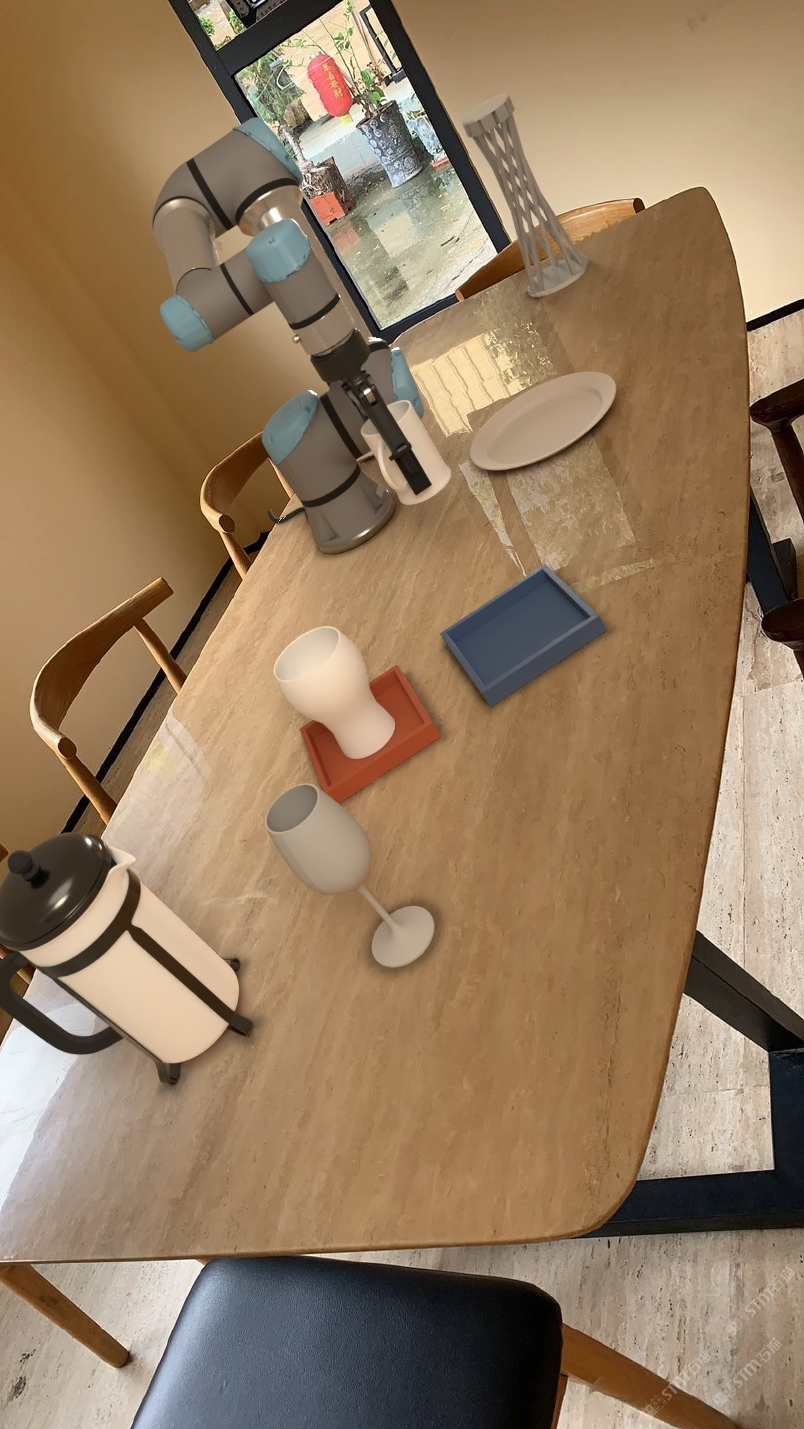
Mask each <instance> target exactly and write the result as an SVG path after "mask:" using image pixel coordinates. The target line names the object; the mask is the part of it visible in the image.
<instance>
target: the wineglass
mask: <svg viewBox="0 0 804 1429" xmlns="http://www.w3.org/2000/svg"><path fill="white" fill-rule="evenodd" d="M264 826H265V829H266V831H267V833H268V835H269V837H270V838H271V840H272V842H273V844H274V846H275V847H276V849H277V851H278V853H279V854H280V856H281V857H282V858H283V860H284V862H285V863H286V864H287V866H288V868H289V869H290V870H291V871H292V873H293V874H294V875H295V877H297V879H299V881H300V882H301V883H302V884H304V885H305V886H306V887H307V888H309V889H310V890H312V891H313V892H316V893H319V894H322V895H326V896H338V895H339V896H340V895H345V894H347V893H350V892H353V891H356V892H358V893H359V894H361V896H362V897H363V898H364V899H365V900H366V901H367V903H369V905H370V906H371V907H372V908H373V909H374V910H375V912H376V913H377V914H378V915H379V916H380V918H382V921H381V923H379V925H378V926H377V929H376V930H375V932H374V934H373V937H372V940H371V954H372V955H373V958H374V959H375V961H376V962H377V963H378V964H379V965H381V966H383V967H384V968H391V969H395V968H403V967H404V966H407V965H409V964H411V963H412V962H414V961H416V960H418V958H419V957H420V956H422V955H423V954H424V952H425V951H426V950H428V947H429V946H430V944H431V942H432V941H433V937H434V934H435V926H436V925H435V921H434V917H433V916H432V914H431V912H430V911H428V910H427V909H426V908H424V907H421V906H419V905H409V906H408V905H407V906H403V907H401V908H398V909H396V910H395V911H393V912H391V913H390V914H389V913H388V911H386V909H385V908H384V907H383V906H382V905H381V903H380V902H379V901H378V900H377V899H376V897H375V896H373V894H372V893H371V892H370V891H369V889H368V888H367V886H366V885H365V880H366V878H367V876H368V875H369V872H370V870H371V865H372V858H373V850H372V846H371V841H370V838H369V837H368V835H367V833H366V831H365V830H364V828H363V826H362V825H361V824H360V822H359V821H358V820H357V819H356V818H355V817H354V815H352V814H351V813H350V812H349V811H347V809H345V808H344V807H343V806H342V805H341V804H340V803H339V804H338V803H337V802H336V801H335V800H333V799H332V798H331V797H330V796H328V795H327V794H326V793H325V792H323V790H322V788H319V787H318V786H317V785H315V784H313V783H309V782H306V783H305V782H304V783H303V782H302V783H299V784H296V785H294V786H291V787H289V788H287V789H285V790H284V791H283V792H282V793H281V794H279V795H278V796H277V797H276V798H275V799H274V801H272V803H271V804H270V806H269V807H268V809H267V810H266V813H265V817H264Z"/></svg>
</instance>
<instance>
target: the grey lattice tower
mask: <svg viewBox="0 0 804 1429" xmlns="http://www.w3.org/2000/svg"><path fill="white" fill-rule="evenodd" d="M514 106H515V105H514V104H513V102H512V99H511V97H510V95H509V92H502V93H499V94H496V95H494V96H492V97H490V98H488V99H487V100H484V101H483V102H481V103H480V104H479V105H477V106H476V107H475V108H473V109H471V110H470V111H469V112H468V113H467V114H465V115H464V116H463V117H462V119H461V124H462V127H463V129H464V131H465V134H466V135H467V138H469V139H472V140H473V141H474V144H475V145H476V147H477V148H478V149H479V151H480V153H481V154H482V155H483V158H484V159H485V160H486V162H487V164H488V165H489V166H490V169H492V173H493V174H494V177H495V179H496V181H497V183H498V186H499V188H500V190H501V193H502V195H503V197H504V199H505V202H506V204H507V206H508V208H509V211H510V214H511V218H512V222H513V225H514V226H513V227H514V231H515V234H516V237H517V241H518V245H519V249H520V253H521V257H522V260H523V264H524V268H525V273H526V275H527V278H528V279H527V281H528V284H527V288H526V291H527V293H528V296H530V297H532V298H542V297H545V296H548V295H551V294H554V293H556V292H558V291H560V290H563V289H565V288H567V287H568V286H569V285H571V284H572V283H574V282H576V281H577V280H578V279H579V278H581V277H582V276H583V275H584V274H585V273H586V272H587V269H588V268H589V265H590V263H591V261H590V258H589V256H588V255H586V254H583V253H582V252H581V251H580V249H579V248H578V247H577V246H576V245H577V244H575V243H574V242H573V240H572V238H571V237H570V236H569V234H568V232H567V231H566V229H565V228H564V226H563V224H562V223H561V222H560V220H559V218H558V217H557V215H556V214H555V212H554V211H553V209H552V207H551V206H550V204H549V202H548V201H547V199H546V197H545V196H544V195H543V193H542V192H541V189H540V187H539V184H538V182H537V179H536V178H535V176H534V173H533V171H532V169H531V167H530V164H529V162H528V160H527V157H526V156H525V151H524V150H523V149H524V148H523V145H522V142H521V141H522V140H521V138H520V135H519V134H520V133H519V131H518V128H517V124H516V121H515V117H514V112H515V111H516V110H515V107H514ZM495 131H496V132H495ZM496 133H497V134H498V136H499V137H500V139H501V141H502V142H503V148H504V150H503V148H502V147H501V146H500V145H499V143H498V140H497V135H496ZM509 138H510V139H509ZM510 140H511V142H510ZM488 143H490V145H491V146H492V148H493V150H494V151H493V150H492V148H490V145H489V144H488ZM513 160H514V161H515V164H514V162H513ZM504 163H505V164H506V165H507V168H506V167H505V166H504ZM515 165H516V166H515ZM507 169H508V170H507ZM516 179H517V180H518V182H519V184H518V182H517V180H516ZM510 186H511V188H510ZM528 194H529V195H530V198H531V199H530V198H529V197H528V196H529V195H528ZM520 199H521V200H522V202H523V207H522V205H521V203H520V202H521V201H520ZM541 210H542V212H541ZM542 213H543V214H544V216H543V215H542ZM532 214H533V215H534V216H535V218H536V219H537V221H538V225H539V229H540V232H541V235H542V236H541V235H540V233H539V231H538V230H537V228H536V226H535V225H534V223H533V217H532ZM524 221H525V223H526V225H527V229H528V233H527V231H526V230H525V225H524ZM547 233H548V234H549V236H550V237H551V238H552V239H553V241H554V242H555V244H556V245H557V246H558V248H559V250H560V253H561V255H562V257H563V259H560V260H558V261H557V260H556V258H555V256H554V254H553V252H552V248H551V244H550V241H549V238H548V234H547ZM528 234H529V236H528ZM562 238H563V239H564V241H565V243H566V244H567V246H568V247H569V248H568V247H567V246H566V245H565V243H564V241H563V239H562ZM537 241H538V243H539V244H540V246H541V247H542V250H543V251H544V252H545V253H546V255H547V257H548V259H549V263H550V265H548V266H547V267H546V268H544V269H542V265H541V260H540V254H539V249H538V244H537ZM570 250H571V251H570ZM531 261H532V263H533V266H534V268H535V272H536V275H535V276H534V275H533V271H532V270H533V269H532V267H531V266H532V265H531ZM533 276H534V277H533Z"/></svg>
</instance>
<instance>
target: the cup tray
mask: <svg viewBox="0 0 804 1429" xmlns="http://www.w3.org/2000/svg"><path fill="white" fill-rule="evenodd" d="M369 687H370V690H371V692H372V694H373V696H374V698H375V700H376V702H377V703H378V704H379V705H381V706H382V707H383V708H384V709H385V710H386V711H387V712H388V713H389V714H390V715H391V716H392V717H393V718H394V721H395V730H394V732H393V735H392V736H391V738H390V739H389V741H388V742H387V743H386V744H385V745H384V746H383V747H382V748H381V749H379V750H378V751H377V752H375V753H373V754H372V755H370V756H367V757H365V758H360V759H351V758H348V757H346V755H345V754H344V753H343V751H342V750H341V748H340V746H339V744H338V742H337V740H336V738H335V736H334V734H333V733H332V732H331V731H330V730H329V729H328V728H327V727H326V726H325V725H324V724H323V723H320V722H317V721H315V720H312V719H311V721H309V722H307V723H306V724H305V725H303V726H302V727H300V728H299V731H300V735H301V737H302V740H303V742H304V744H305V747H306V750H307V753H308V755H309V758H310V760H311V763H312V766H313V769H314V771H315V774H316V777H317V779H318V782H319V784H320V787H321V790H322V791H323V792H325V793H326V794H327V795H328V796H330V797H331V798H332V799H333V800H335V801H336V802H337V803H338V804H339V805H340V804H341V803H343V802H344V801H345V800H347V799H349V798H350V797H351V796H353V795H354V794H356V793H357V792H359V791H361V790H362V789H364V788H365V787H367V786H368V785H370V784H371V783H373V782H374V781H376V780H378V779H379V778H380V777H382V776H383V775H385V774H387V773H388V772H389V771H391V770H392V769H394V768H396V767H397V766H399V765H401V764H402V763H403V762H405V761H407V760H408V759H409V758H412V757H413V756H414V755H416V754H417V753H418V752H420V751H421V750H424V749H425V748H426V747H427V746H429V745H431V744H433V743H434V742H435V741H437V740H438V739H440V738H442V735H441V733H440V731H439V729H437V727H436V725H435V723H434V722H433V720H432V718H431V716H430V715H429V713H428V712H427V709H426V708H425V706H424V704H423V703H422V701H421V700H420V698H419V696H418V695H417V693H416V691H415V690H414V688H413V686H412V684H411V683H410V681H409V680H408V678H407V676H406V675H405V673H404V672H403V671H402V669H401V668H400V666H399V665H398V664H395V665H394V666H392V667H391V668H389V669H388V670H385V672H383V673H381V674H380V675H378V676H377V677H375V678H374V679H373V680H371V681H369Z"/></svg>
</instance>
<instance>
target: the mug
mask: <svg viewBox="0 0 804 1429" xmlns="http://www.w3.org/2000/svg"><path fill="white" fill-rule="evenodd" d="M387 407H388V409H389V411H390V412H391V414H392V416H393V417H394V419H395V421H396V422H397V424H398V425H399V427H400V429H401V430H402V432H403V434H404V435H405V437H406V438H407V440H408V442H410V443H411V446H412V451H413V453H414V454H415V456H416V458H417V459H418V461H419V463H420V465H421V466H422V468H423V470H424V471H425V473H426V475H427V477H428V478H429V480H430V482H431V484H432V485H431V486H430V487H428V488H427V489H425V490H424V491H422V492H421V493H419V494H418V495H415V494H414V492H413V491H412V489H411V487H410V486H409V484H408V482H407V481H406V479H405V477H404V476H403V474H402V472H401V470H400V469H399V467H398V465H397V464H396V462H395V460H392V461H390V460H389V457H390V456H391V455H392V454H391V451H390V449H389V448H388V446H387V445H386V443H385V442H384V440H383V439H382V437H381V436H380V434H379V432H378V431H377V429H376V428H375V426H374V425H373V423H372V422H371V420H370V419H368V420H367V421H366V422H365V423H364V425H363V426H362V428H361V434H362V436H363V438H364V439H365V441H366V443H367V444H368V446H369V448H370V449H371V451H372V452H373V454H374V456H373V457H375V459H376V461H377V463H378V465H379V466H378V467H379V469H380V472H381V475H382V477H383V479H384V480H385V482H386V483H387V485H388V486H389V488H390V489H392V490H394V491H395V492H396V494H397V497H398V499H399V502H400V503H401V504H403V505H405V506H414V505H417V504H418V505H419V504H420V503H424V502H425V501H428V500H429V499H431V498H433V497H435V496H436V495H437V494H438V493H440V492H441V491H442V490H443V489H444V488H445V487H446V486H447V485H448V484H449V482H450V480H451V478H452V470H451V468H450V467H449V466H448V465H447V464H446V462H445V460H444V459H443V457H442V456H441V453H440V452H439V450H438V449H437V447H436V445H435V443H434V441H433V440H432V437H431V436H430V434H429V433H428V431H427V429H426V427H425V426H424V424H423V422H422V419H420V418H419V417H418V415H417V413H416V411H415V410H414V408H413V406H412V404H411V403H410V402H409V401H407V400H402V401H397V402H394V403H392V404H389V405H387Z"/></svg>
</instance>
